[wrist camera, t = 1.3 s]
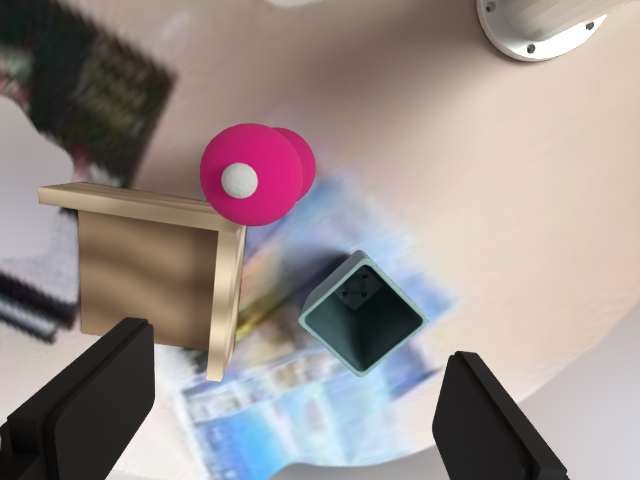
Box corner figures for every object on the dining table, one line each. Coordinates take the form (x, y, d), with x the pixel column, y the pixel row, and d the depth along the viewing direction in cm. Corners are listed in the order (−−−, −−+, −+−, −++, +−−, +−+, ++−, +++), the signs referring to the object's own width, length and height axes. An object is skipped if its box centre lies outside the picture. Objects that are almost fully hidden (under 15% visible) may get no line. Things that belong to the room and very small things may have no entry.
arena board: (82, 181, 35) (77, 182, 35) (249, 207, 36) (247, 209, 35) (86, 329, 40) (81, 333, 39) (234, 350, 41) (232, 354, 40)
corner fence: (77, 182, 35) (38, 187, 30) (247, 209, 35) (236, 217, 30) (81, 333, 39) (48, 358, 34) (232, 354, 40) (220, 381, 35)
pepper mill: (300, 119, 34) (273, 74, 14) (326, 185, 36) (333, 223, 16) (236, 146, 34) (130, 138, 15) (265, 209, 36) (202, 275, 17)
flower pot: (300, 283, 38) (294, 321, 30) (355, 231, 37) (366, 256, 28) (352, 331, 40) (360, 380, 31) (406, 283, 38) (432, 321, 30)
